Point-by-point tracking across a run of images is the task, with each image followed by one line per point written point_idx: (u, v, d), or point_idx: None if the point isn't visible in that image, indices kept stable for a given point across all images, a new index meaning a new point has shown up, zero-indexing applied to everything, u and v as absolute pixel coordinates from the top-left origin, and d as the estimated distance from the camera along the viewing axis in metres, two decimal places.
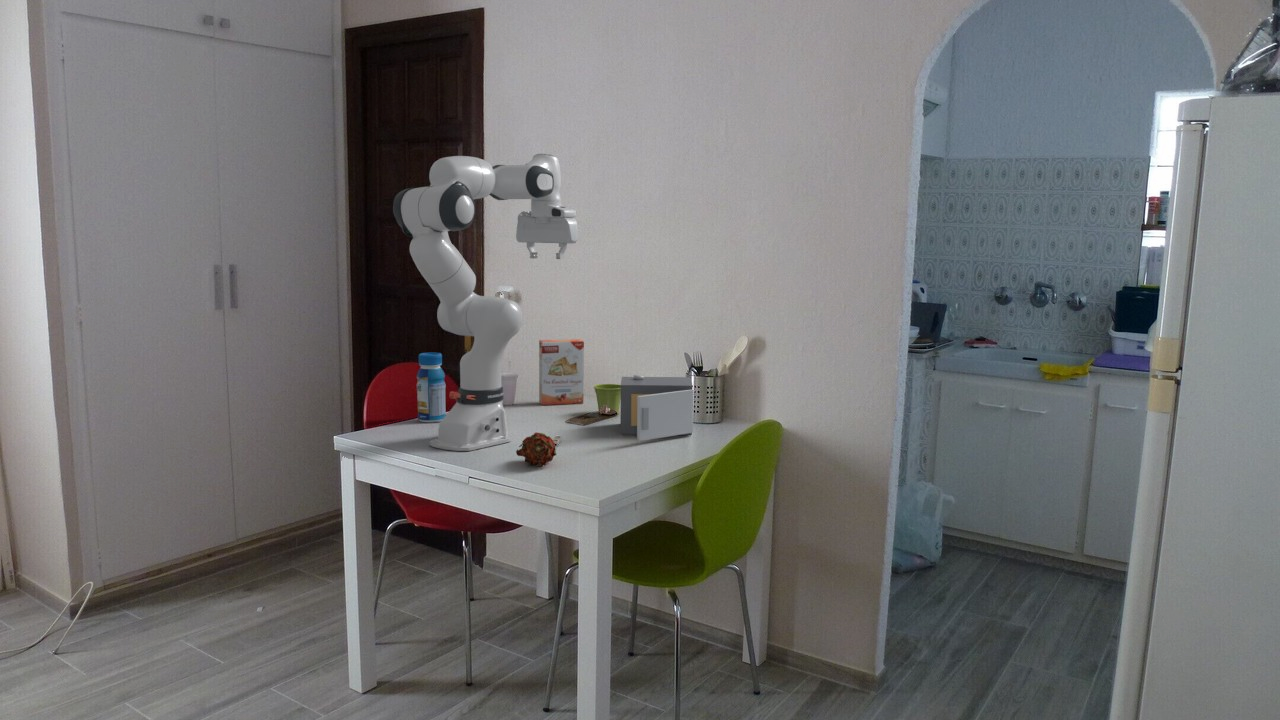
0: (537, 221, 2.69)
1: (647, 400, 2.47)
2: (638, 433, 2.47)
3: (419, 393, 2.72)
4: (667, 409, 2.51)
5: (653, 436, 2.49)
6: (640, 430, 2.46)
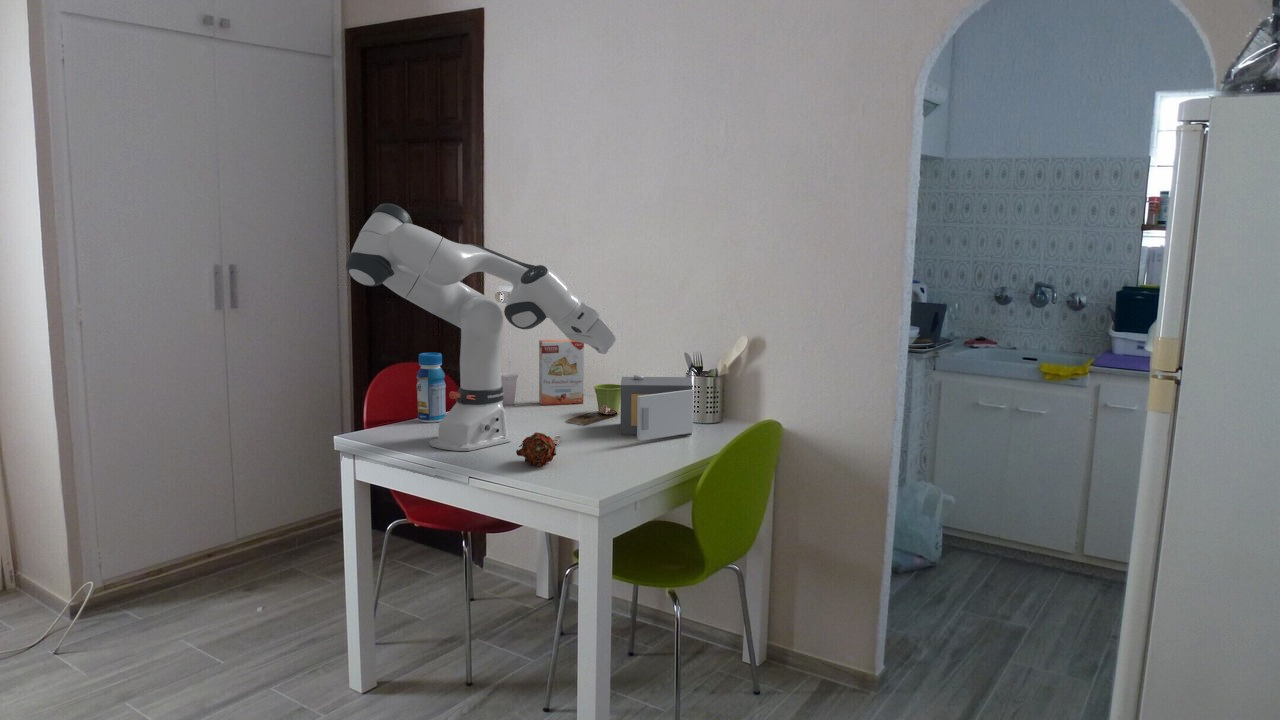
0: None
1: (647, 400, 2.47)
2: (638, 433, 2.47)
3: (419, 393, 2.72)
4: (667, 409, 2.51)
5: (653, 436, 2.49)
6: (640, 430, 2.46)
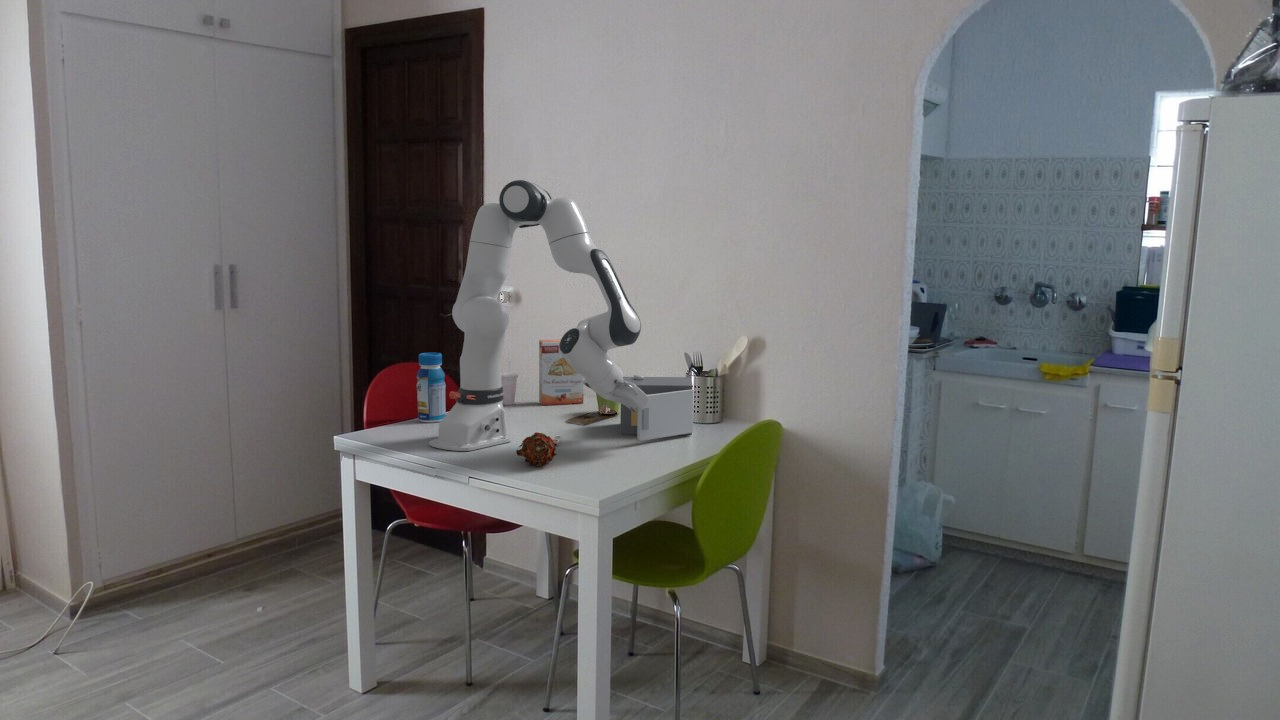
0: None
1: None
2: (639, 433, 2.47)
3: (419, 393, 2.72)
4: (667, 409, 2.51)
5: (654, 436, 2.49)
6: (640, 430, 2.46)
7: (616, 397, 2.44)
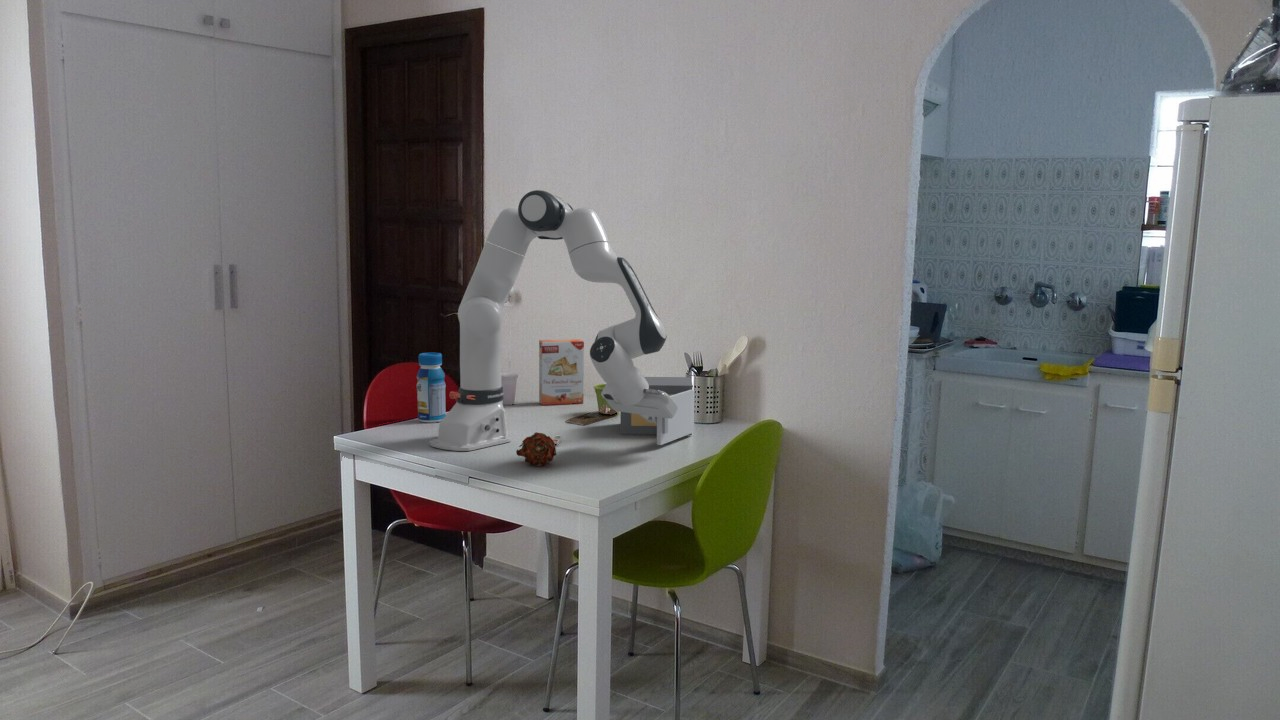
0: None
1: None
2: (659, 437, 2.42)
3: (419, 393, 2.72)
4: (678, 411, 2.49)
5: (669, 439, 2.46)
6: (661, 434, 2.42)
7: (639, 408, 2.39)
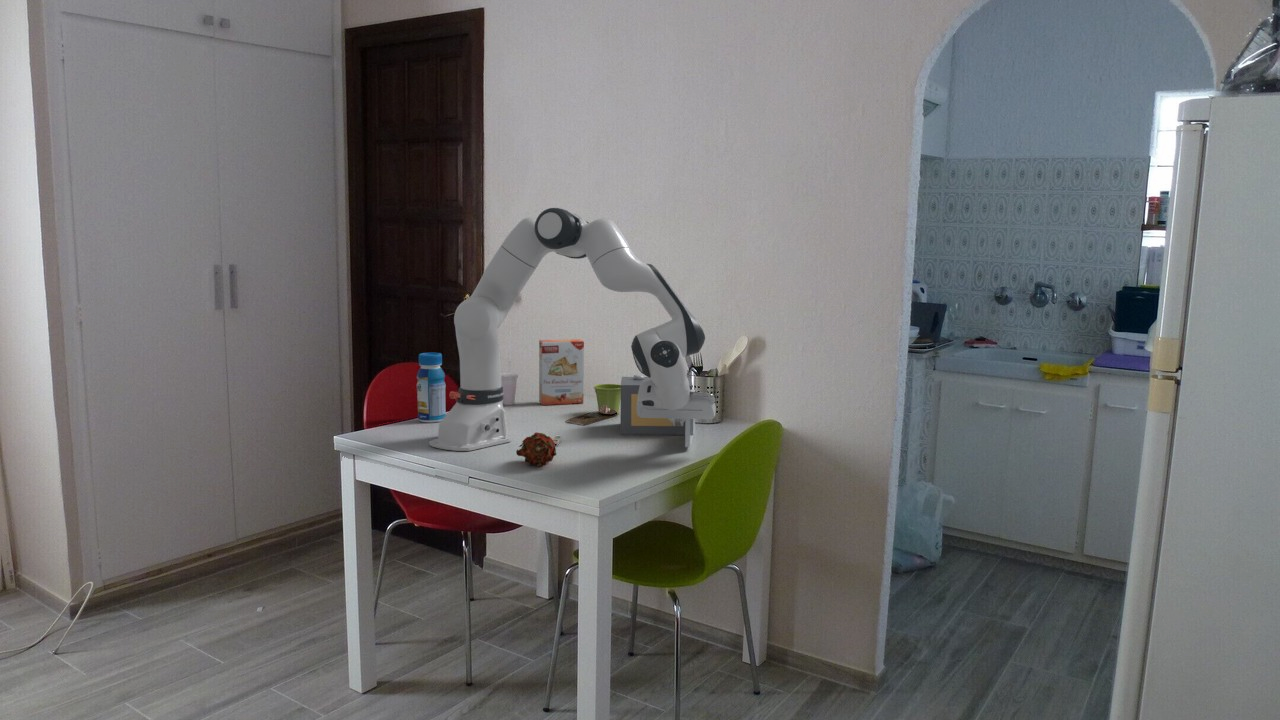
0: None
1: None
2: (688, 439, 2.40)
3: (419, 393, 2.72)
4: None
5: None
6: (689, 436, 2.40)
7: (676, 411, 2.34)
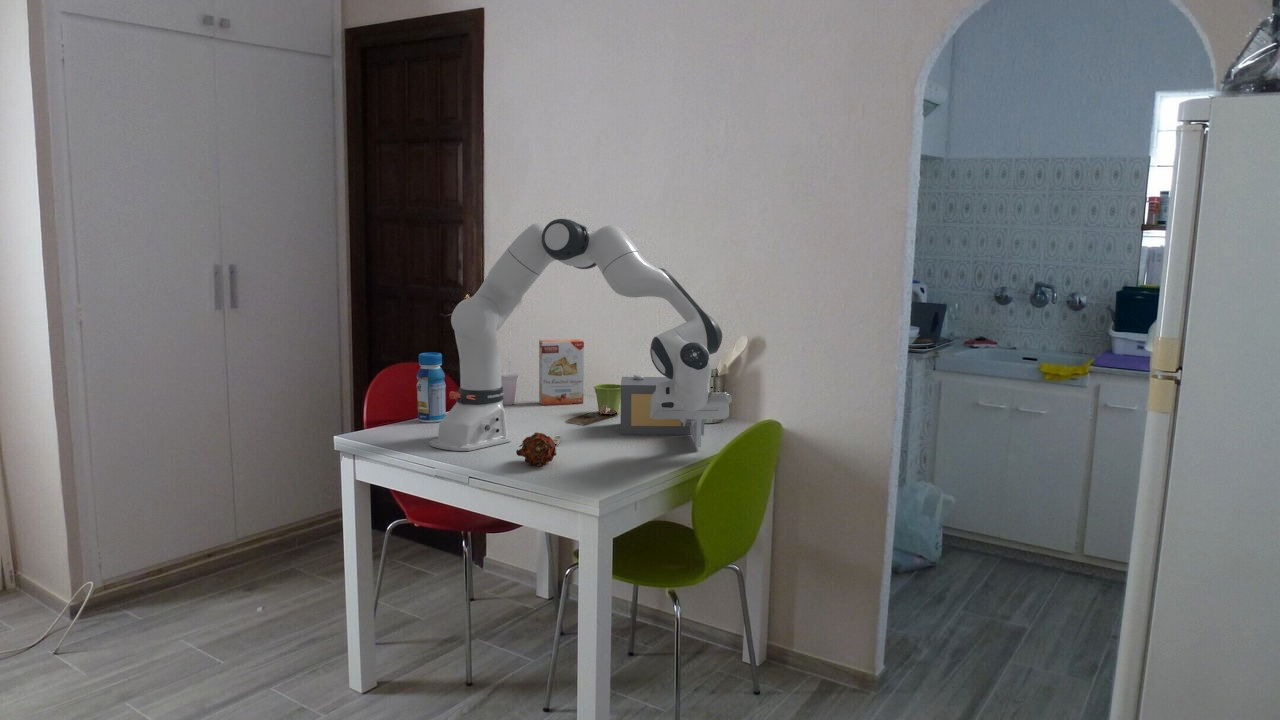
0: None
1: None
2: (699, 439, 2.40)
3: (419, 393, 2.72)
4: None
5: None
6: None
7: (691, 412, 2.33)
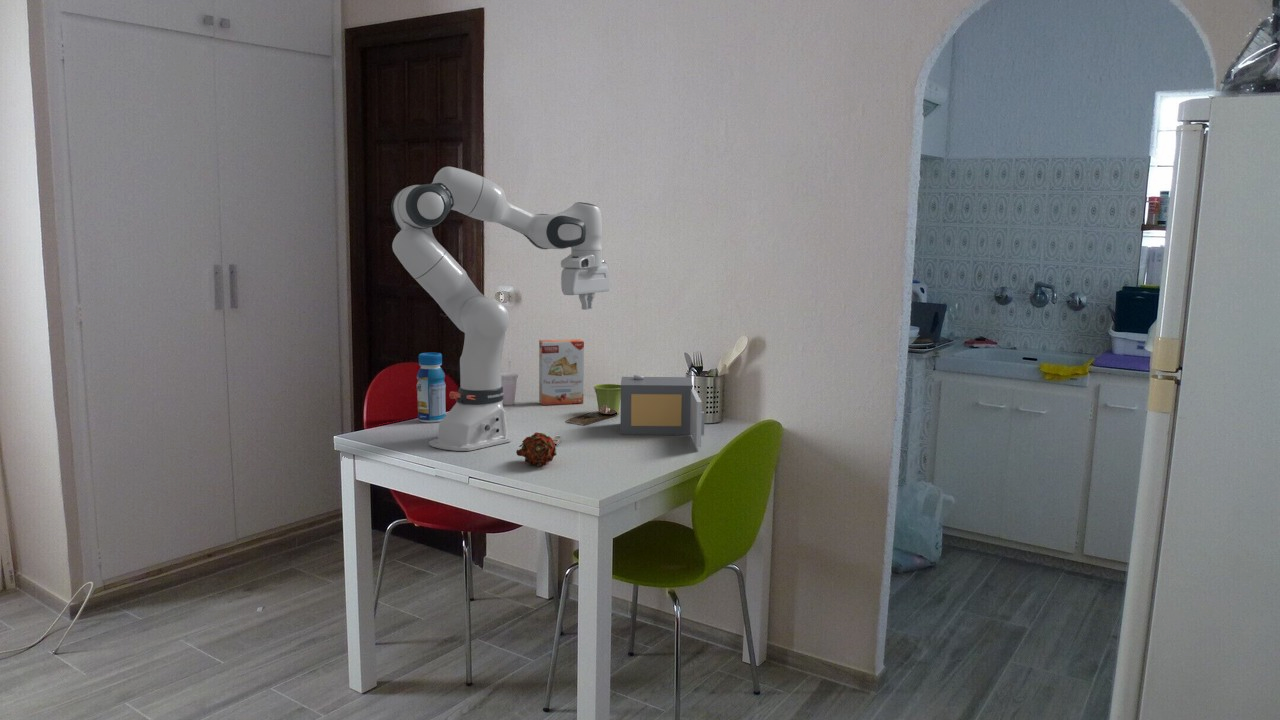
0: None
1: None
2: (699, 439, 2.40)
3: (419, 393, 2.72)
4: None
5: None
6: None
7: (592, 281, 2.62)
